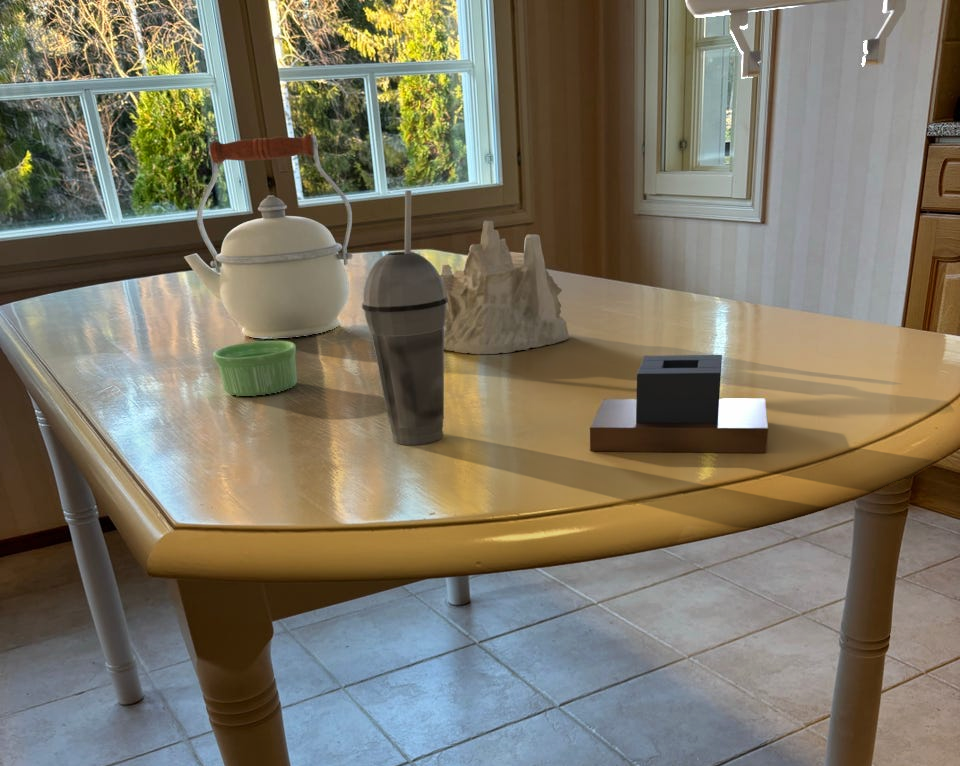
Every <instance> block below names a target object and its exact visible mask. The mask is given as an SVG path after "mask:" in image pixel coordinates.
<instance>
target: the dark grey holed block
mask: <svg viewBox="0 0 960 766" xmlns="http://www.w3.org/2000/svg"><path fill="white" fill-rule="evenodd" d="M722 361H723V354H680V355H679V354H678V355H677V354H675V355H674V354H673V355H644V356H643V358H642V359H641V363H640V365H639V368H638V371H637V373H636V396H635V397H636V398H635V399H636V423H718V412H719V399H720V395H721V378H722V364H723V363H722Z"/></svg>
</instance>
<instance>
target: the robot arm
mask: <svg viewBox="0 0 960 766" xmlns="http://www.w3.org/2000/svg"><path fill="white" fill-rule="evenodd" d="M847 1H849V0H685V6H686V8H687V10H688V11H689V13H690V14H692V15H693V16H694V17H695V18H705V17H716V16H725V15H730V17H729V31H730V34H731V36H732V38H733V40H734V42H735V44H736V47H737V48H738V51H739V52H740V54H741V77H740V78H741V79H745V78H746V79H747V78H756V77H760V75H761V65H760V64H759V63H761V60H762V50H751V48H750V45H749V43H748V41H747V40H746V37H745V35H744V33H743V31H742V30H745V29H747V28H748V25H749V13H750V12H759V11H769V10H777V9H786V8H795V7H803V6H812V5H822V4H829V3H838V2H839V3H840V2H847ZM906 6H907V0H883V5H882V13H883V14H888V17H887V18H886V20H885V21H884V23H883V25H882V26H881V27H880V30H879V31H878V33H877V35H876V37H875V38H869V39H866V40H864V41H863V42H864V43H863V52H864V54H863V56H862V63H861V65H862V67H871V66H880V65H884V63H885V57H886V48H887V39H888V38H889V37H890V36H891V34H892V32H893V30H894V29H895V28H896V26H897V23H898V22H899V21H900V19H901V18H902V16H903V14H904V12H905V11H906Z"/></svg>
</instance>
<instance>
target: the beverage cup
mask: <svg viewBox="0 0 960 766" xmlns="http://www.w3.org/2000/svg"><path fill="white" fill-rule="evenodd" d="M411 246H412V190H405V191H404V251H393V252H389V253H386V254H384V255H383V256H381V257H380V258H378V259H377V260H376V261H375V262H374V263H373V265H372V266H371V267H370V269H369V271H368V272H367V274H366V277H365V278H364V282H363V287H362V303H361V309H362V310H363V311H364V317H365V321H366V324H367V327H368V331H369V333H370V335H371V338H372V339H371V340H372V343H373V349H374V354H375V361H376V364H377V369H378V374H379V380H380V385H381V389H382V395H383V400H384V404H385V410H386V414H387V420H388V423H389V427H390V430H391V435H392V441H393V442H394V443H396V444H399V445H403V446H419V445H427V444H430V443H431V444H432V443H435V442H438V441H439V440H441V439H442V438H443V436H444V431H443V428H444V418H445V394H444V393H445V361H444V360H445V349H444V326H445V321H446V303H447V302H448V299H447V296H446V294H445V288H444V285H443V281H442V279H441V277H440V275H441V274H440V273H439V272H438V270H437V268H436V267H435V266H434V265H433V263H432V262H430V261H429V260H428V259H427V258H426V257H424V256H422V255H421V254H419V253H417V252H414V251H412V250H411V249H412V247H411Z"/></svg>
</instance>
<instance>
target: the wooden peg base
mask: <svg viewBox="0 0 960 766" xmlns="http://www.w3.org/2000/svg"><path fill="white" fill-rule="evenodd" d="M768 436H769V422H768V411H767V401H766V398H763V397H762V398H719V412H718V423H636V398H603V399H602V401H601V403H600V405H599V408H598V410H597V412H596V415H595V416H594V419H593V420H592V423H591V424H590V426H589V451H590V452H630V453H631V452H635V453H636V452H638V453H642V452H643V453H646V452H647V453H648V452H649V453H650V452H651V453H653V452H654V453H729V454H730V453H731V454H732V453H733V454H734V453H740V454H745V453H746V454H748V453H749V454H755V453H756V454H766V453H767V448H768Z"/></svg>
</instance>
